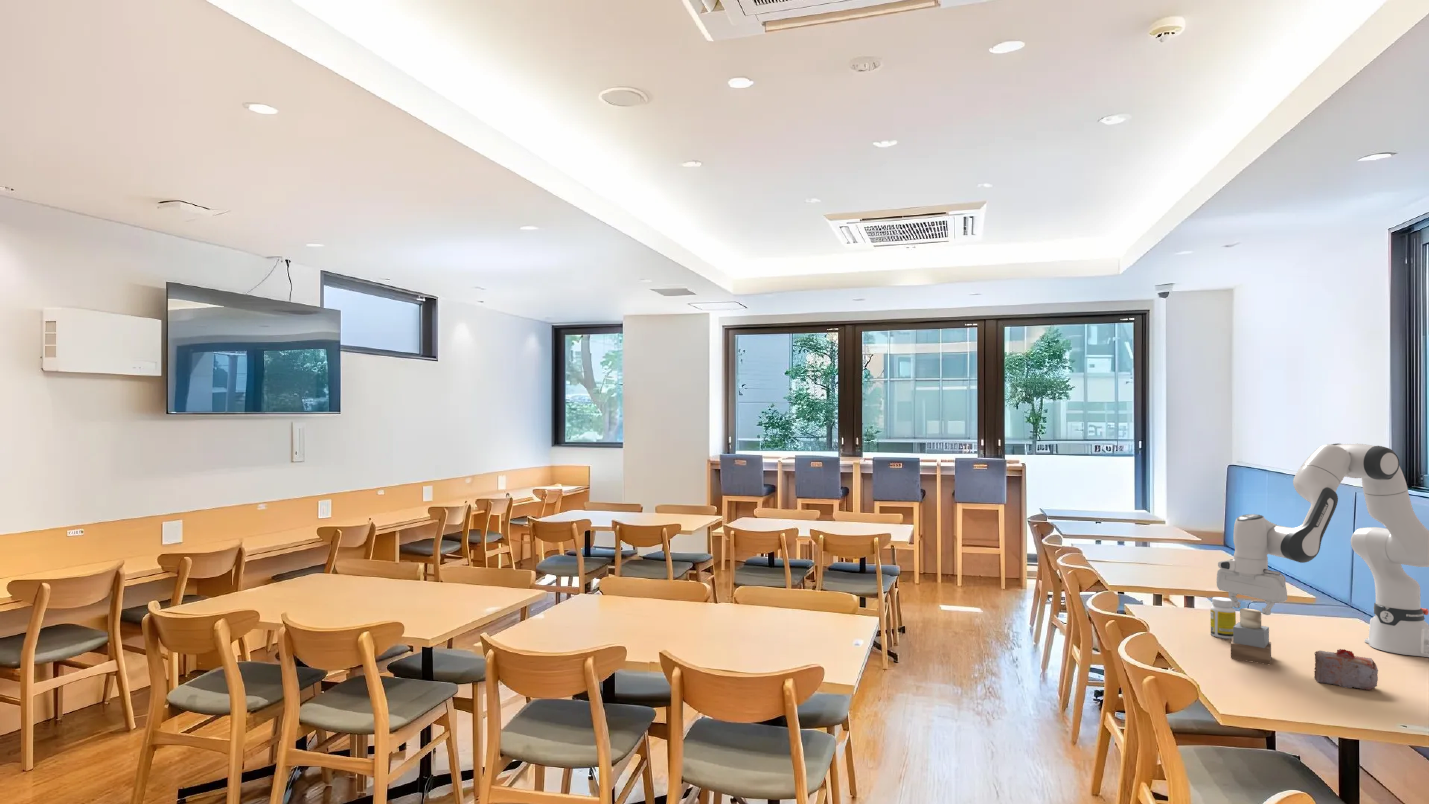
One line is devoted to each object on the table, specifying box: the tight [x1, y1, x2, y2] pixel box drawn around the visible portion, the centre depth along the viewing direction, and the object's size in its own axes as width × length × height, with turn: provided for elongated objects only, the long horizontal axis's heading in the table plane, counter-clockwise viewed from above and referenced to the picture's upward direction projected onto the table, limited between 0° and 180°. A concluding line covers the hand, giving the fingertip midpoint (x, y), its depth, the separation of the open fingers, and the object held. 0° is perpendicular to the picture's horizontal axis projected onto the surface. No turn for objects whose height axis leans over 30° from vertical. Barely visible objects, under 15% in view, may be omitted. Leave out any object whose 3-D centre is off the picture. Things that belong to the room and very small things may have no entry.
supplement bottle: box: [1209, 596, 1237, 640], centre depth 267 cm, size 7×7×13 cm
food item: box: [1313, 648, 1379, 691], centre depth 219 cm, size 14×8×10 cm, turn 57°
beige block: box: [1239, 607, 1262, 629], centre depth 244 cm, size 6×6×5 cm
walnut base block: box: [1230, 638, 1272, 665], centre depth 243 cm, size 10×10×5 cm
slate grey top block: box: [1233, 621, 1270, 648], centre depth 243 cm, size 8×8×5 cm
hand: (1251, 610), depth 244 cm, fingers open, 8 cm apart
